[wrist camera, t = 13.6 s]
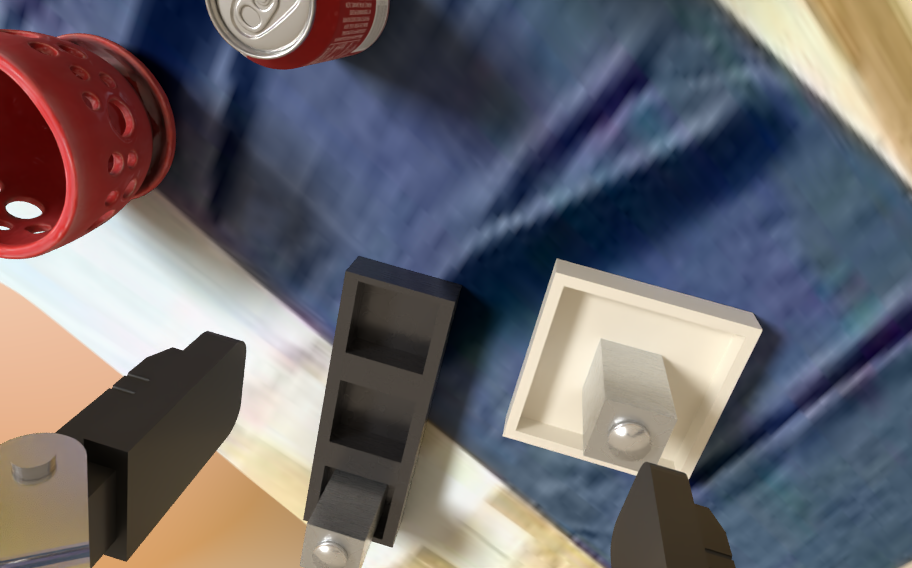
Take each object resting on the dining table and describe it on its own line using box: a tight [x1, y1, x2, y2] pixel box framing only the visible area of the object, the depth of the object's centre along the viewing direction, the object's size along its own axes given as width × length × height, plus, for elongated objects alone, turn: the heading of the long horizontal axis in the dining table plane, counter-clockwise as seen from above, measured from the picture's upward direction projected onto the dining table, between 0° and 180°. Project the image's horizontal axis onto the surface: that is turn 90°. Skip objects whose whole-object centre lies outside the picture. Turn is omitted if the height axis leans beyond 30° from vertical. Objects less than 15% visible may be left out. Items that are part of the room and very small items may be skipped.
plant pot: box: [0, 29, 176, 259], centre depth 42 cm, size 13×13×12 cm
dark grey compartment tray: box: [303, 256, 462, 547], centre depth 52 cm, size 8×24×3 cm, turn 167°
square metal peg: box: [300, 469, 389, 568], centre depth 52 cm, size 4×4×9 cm
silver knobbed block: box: [582, 338, 678, 471], centre depth 44 cm, size 4×4×9 cm
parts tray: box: [503, 259, 763, 480], centre depth 47 cm, size 14×14×3 cm
